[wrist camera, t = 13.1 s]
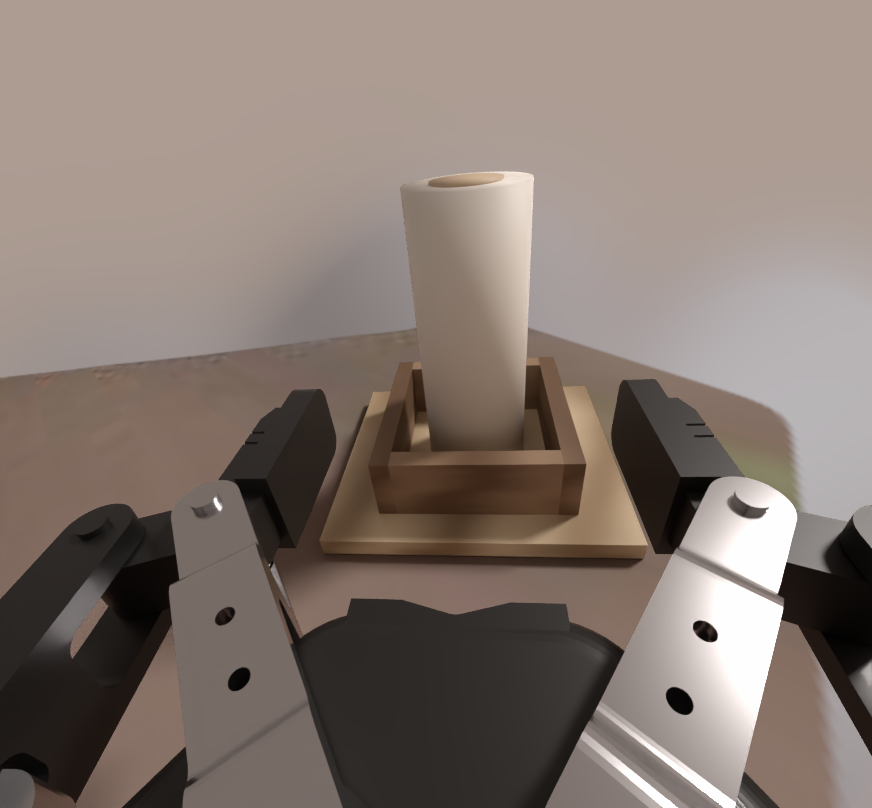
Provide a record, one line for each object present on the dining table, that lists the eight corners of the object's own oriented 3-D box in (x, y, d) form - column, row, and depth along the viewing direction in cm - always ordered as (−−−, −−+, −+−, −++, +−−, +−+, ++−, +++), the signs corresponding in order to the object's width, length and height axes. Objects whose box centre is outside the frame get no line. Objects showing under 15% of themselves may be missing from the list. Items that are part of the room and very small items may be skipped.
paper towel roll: (427, 483, 24) (389, 194, 16) (435, 424, 29) (408, 176, 20) (527, 482, 24) (542, 182, 15) (518, 422, 28) (526, 165, 20)
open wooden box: (323, 553, 22) (300, 492, 20) (375, 402, 34) (365, 352, 31) (643, 558, 20) (664, 492, 18) (583, 397, 32) (590, 343, 29)
